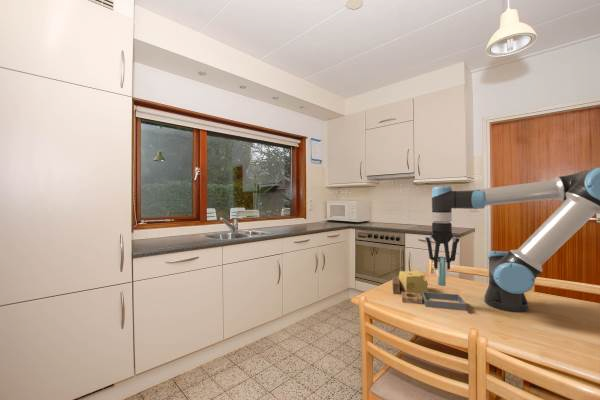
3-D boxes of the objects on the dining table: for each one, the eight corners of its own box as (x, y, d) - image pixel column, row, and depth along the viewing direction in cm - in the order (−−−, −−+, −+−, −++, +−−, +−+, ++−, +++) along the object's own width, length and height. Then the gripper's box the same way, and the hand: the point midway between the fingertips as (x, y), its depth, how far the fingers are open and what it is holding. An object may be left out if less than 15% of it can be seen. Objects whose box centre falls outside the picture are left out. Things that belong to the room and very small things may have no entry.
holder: (419, 299, 125) (419, 293, 125) (422, 306, 117) (422, 299, 117) (401, 298, 127) (401, 291, 127) (402, 304, 119) (402, 297, 119)
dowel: (444, 284, 118) (444, 256, 118) (446, 286, 116) (446, 258, 116) (437, 283, 119) (437, 256, 119) (438, 285, 117) (438, 257, 116)
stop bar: (398, 288, 140) (398, 276, 140) (399, 296, 129) (399, 283, 129) (392, 287, 141) (392, 276, 141) (393, 295, 130) (393, 283, 130)
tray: (459, 302, 120) (458, 294, 120) (466, 313, 110) (466, 304, 110) (421, 299, 125) (421, 291, 125) (425, 309, 114) (425, 300, 114)
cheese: (428, 297, 127) (428, 276, 127) (405, 297, 128) (405, 276, 128) (419, 290, 138) (419, 270, 138) (398, 290, 138) (398, 270, 138)
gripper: (459, 221, 118) (459, 275, 119) (421, 221, 123) (421, 272, 123) (464, 223, 111) (464, 280, 111) (423, 222, 116) (423, 277, 116)
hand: (441, 276), depth 117 cm, fingers closed on dowel, 2 cm apart
